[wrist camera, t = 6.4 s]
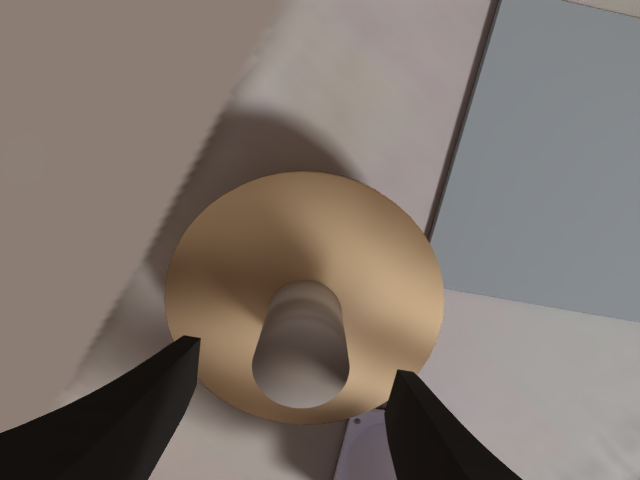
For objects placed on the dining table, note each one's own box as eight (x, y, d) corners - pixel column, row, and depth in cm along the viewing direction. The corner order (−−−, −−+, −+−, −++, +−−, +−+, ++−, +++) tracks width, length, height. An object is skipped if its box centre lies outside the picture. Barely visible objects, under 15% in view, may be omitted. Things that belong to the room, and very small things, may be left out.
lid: (390, 429, 19) (414, 526, 14) (159, 383, 18) (101, 470, 13) (477, 211, 15) (551, 240, 10) (193, 137, 14) (129, 131, 9)
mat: (647, 321, 21) (653, 325, 21) (416, 281, 20) (418, 284, 20) (788, 57, 17) (800, 55, 16) (501, -9, 16) (506, -13, 15)
